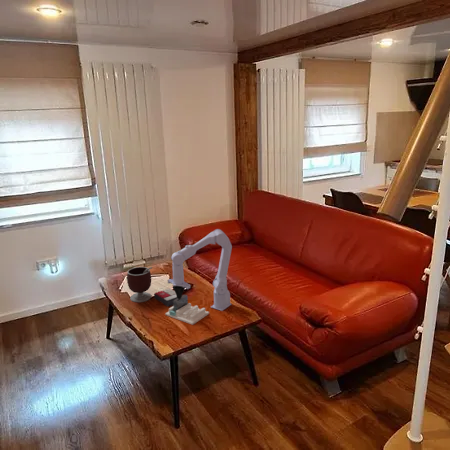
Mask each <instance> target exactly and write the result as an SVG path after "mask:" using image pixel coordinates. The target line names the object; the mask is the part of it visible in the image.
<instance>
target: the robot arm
mask: <svg viewBox="0 0 450 450" xmlns="http://www.w3.org/2000/svg"><path fill="white" fill-rule="evenodd" d="M210 244H211V245H216V244H217V245H218V246H221V251H220V252H221V253H220V257H219V258H220V259H219V263H218V268H217V269H218V270H217V274H216V275H215V278H214V279H213V281H212V286H213V288H214V289H213V304H212V305H210V308H212V309H215V310H218V311H221V312H223V311H224V310H226V309H227V308H229V307H230V306H232V303H231V293H230V291H229V290H228V286H227V285H228V280H227V276H228V269H229V264H230V261H231V260H230V259H231V254H232V250H233V249H232V248H233V246H232V243H231V240H230V238H229V237H228V236H227V234H226V233H225V232H224V231H223V230H222V229H220V228H216V229H214V230H213V231H211V232H210V233H208V234H206V236H204V237H203V238H202V239H200V240H198V241H197V242H195V243H194V244H186V245H184V246H185V247H183V248H182V249H180V250H178V251H175V252H174V253H172V255H171V260H172V278H169V279H167V284H172V290H173V291H175V293H176V295H177V298H178V299H180V298H182V295H183V293H184V291H185V289H186V290H189V289H191V284H189V283H188V282H186V281H185V276H184V265H183V264H184V261H186V260H188V259H189V258H191V257H193V256H194V255H196V253H197V251H199V250H200V249H202V248H204V247H205V246H208V245H210Z"/></svg>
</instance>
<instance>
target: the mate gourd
mask: <svg viewBox="0 0 450 450" xmlns="http://www.w3.org/2000/svg"><path fill="white" fill-rule="evenodd" d="M151 269H153V267H146V266H137V267H132V268H130V269H128V270H127V271H126V272H127V273H126V281H127V286H128V289H129V290H130V291H131V292H133V294H131V295H130V297H129V298H130V301H131V302H133V303H144V302H147V301H149V300H151V299H152V294H151V293H149V292H147V291H148V290H150V287H151V285H152V274H151Z"/></svg>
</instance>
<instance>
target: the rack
mask: <svg viewBox="0 0 450 450" xmlns="http://www.w3.org/2000/svg"><path fill="white" fill-rule="evenodd" d="M209 314H210V311H206V307H202V308H199V306H198V305H197V304H196V305H194V306H193V305H192V303H190V302H189V303H188V304H187V305H185V306H183V307H182V308H180V309H178V310H177V311H176V313H175V312H174V309H173V305H171V306H170V307H169V308H168V311H167V312H165V313H164V315H165V316H168V317H170V318H172V319H175V320H179V321H181V322H184V323H187V324H189V325H192V326H193V325H195V324H196V323H197V322H199V321H200V320H202V319H203V318H205V317H206V316H208V315H209Z"/></svg>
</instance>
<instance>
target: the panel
mask: <svg viewBox="0 0 450 450" xmlns="http://www.w3.org/2000/svg"><path fill="white" fill-rule="evenodd" d="M188 299H189V298H188V295H187V294H182V298H180V299H178V298H177V299H175V300H173V305H172V306H173V309H174V312H175V313H176V311H177V310H178V309H180V308H182V307H183V306H185V305H187V304H188V302H189V300H188Z"/></svg>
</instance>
